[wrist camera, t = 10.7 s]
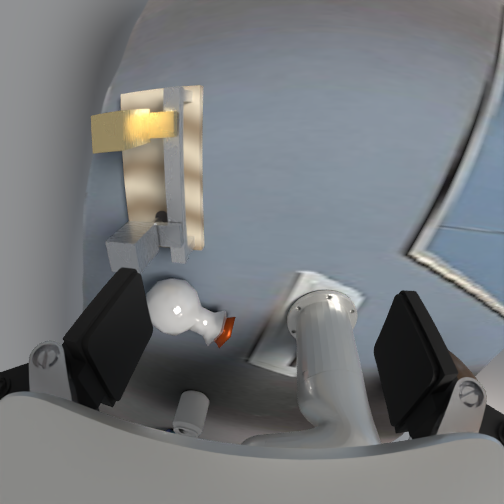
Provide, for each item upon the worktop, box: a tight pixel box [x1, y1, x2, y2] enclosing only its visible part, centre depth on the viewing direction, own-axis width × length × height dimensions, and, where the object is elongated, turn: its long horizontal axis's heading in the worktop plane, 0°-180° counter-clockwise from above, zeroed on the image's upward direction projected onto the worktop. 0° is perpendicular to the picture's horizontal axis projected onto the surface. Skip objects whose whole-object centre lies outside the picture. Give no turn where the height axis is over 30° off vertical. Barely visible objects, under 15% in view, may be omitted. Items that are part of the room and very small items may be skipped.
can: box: [172, 390, 209, 438], centre depth 60 cm, size 8×8×12 cm
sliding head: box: [91, 109, 177, 153], centre depth 27 cm, size 4×7×12 cm, turn 88°
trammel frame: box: [105, 86, 195, 274], centre depth 31 cm, size 23×7×12 cm, turn 178°
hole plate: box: [121, 85, 204, 250], centre depth 37 cm, size 24×12×2 cm, turn 178°
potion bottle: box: [146, 278, 235, 348], centre depth 45 cm, size 9×10×15 cm
